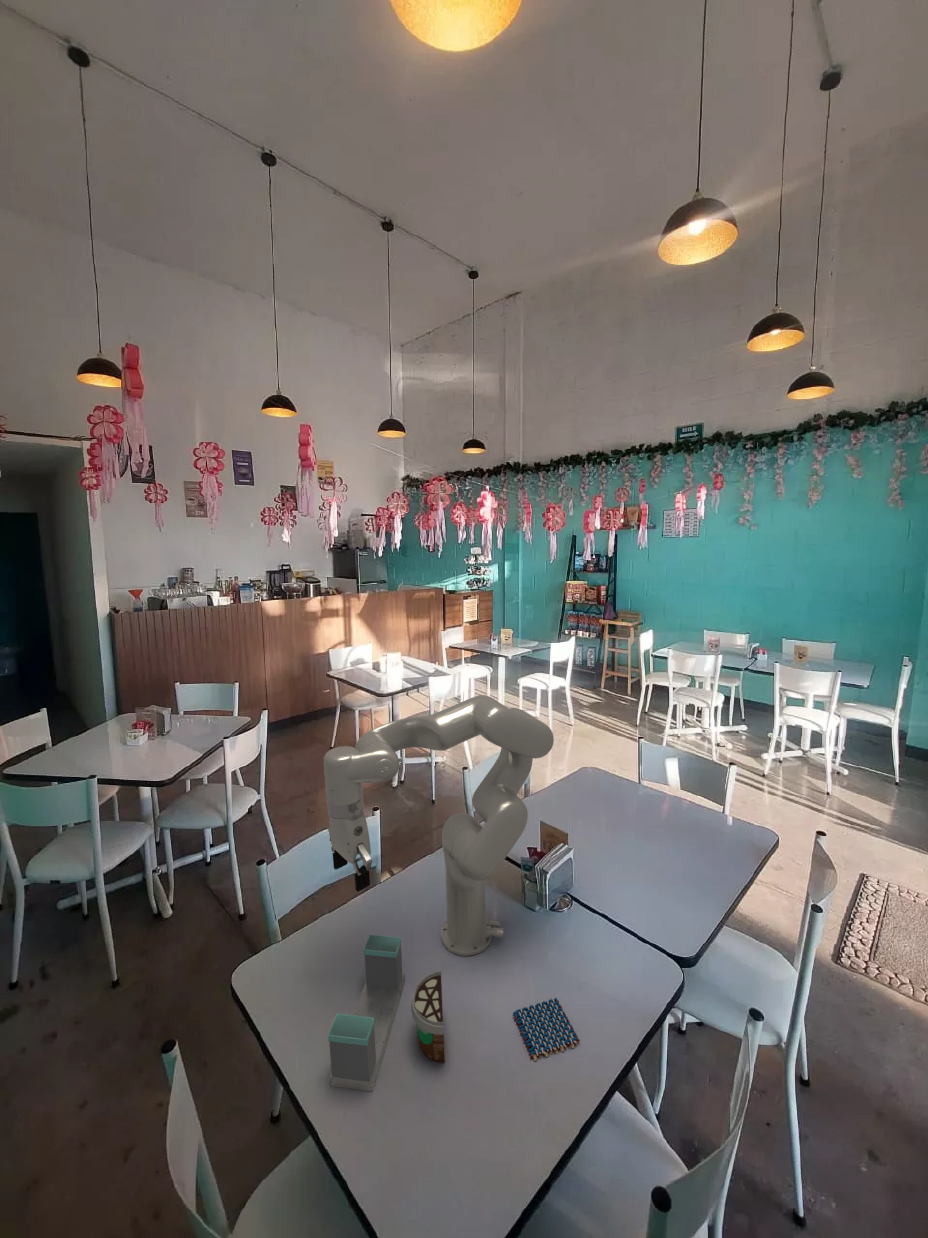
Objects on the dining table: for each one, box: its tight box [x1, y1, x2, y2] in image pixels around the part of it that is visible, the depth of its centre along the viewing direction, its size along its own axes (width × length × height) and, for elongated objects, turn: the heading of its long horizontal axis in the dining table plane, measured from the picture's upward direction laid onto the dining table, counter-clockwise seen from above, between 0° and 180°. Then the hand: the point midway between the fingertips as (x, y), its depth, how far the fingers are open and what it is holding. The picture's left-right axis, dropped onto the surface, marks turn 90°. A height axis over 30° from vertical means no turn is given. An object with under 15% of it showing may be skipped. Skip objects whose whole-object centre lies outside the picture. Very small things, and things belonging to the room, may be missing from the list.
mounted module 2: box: [363, 934, 403, 989], centre depth 111 cm, size 7×4×9 cm, turn 82°
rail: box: [329, 972, 406, 1093], centre depth 103 cm, size 8×23×2 cm, turn 172°
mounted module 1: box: [327, 1013, 376, 1082], centre depth 93 cm, size 7×4×9 cm, turn 82°
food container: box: [410, 970, 446, 1064], centre depth 100 cm, size 12×6×10 cm, turn 5°
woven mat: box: [512, 997, 581, 1061], centre depth 102 cm, size 10×11×2 cm
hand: (351, 877), depth 111 cm, fingers open, 9 cm apart
